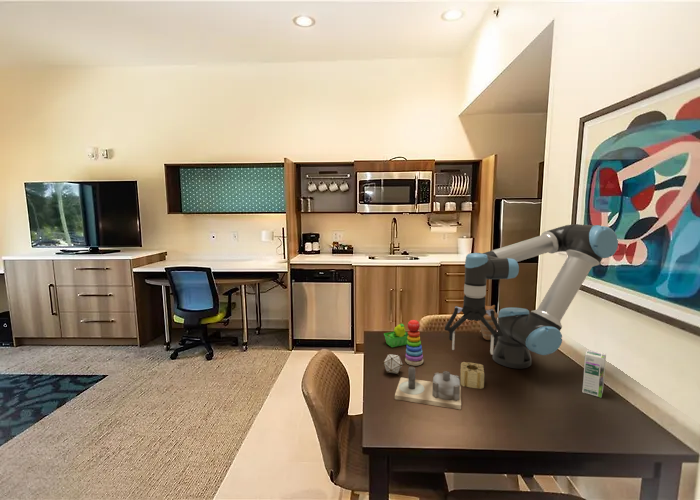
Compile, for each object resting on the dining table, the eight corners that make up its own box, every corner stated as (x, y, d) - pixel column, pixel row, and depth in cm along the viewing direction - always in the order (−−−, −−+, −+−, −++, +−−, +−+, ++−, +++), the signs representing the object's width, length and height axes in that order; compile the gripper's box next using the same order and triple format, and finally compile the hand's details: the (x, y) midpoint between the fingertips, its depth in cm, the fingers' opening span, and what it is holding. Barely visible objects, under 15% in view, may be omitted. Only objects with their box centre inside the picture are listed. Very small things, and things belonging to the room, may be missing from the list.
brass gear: (482, 378, 133) (483, 364, 132) (484, 389, 125) (484, 374, 124) (460, 375, 135) (460, 361, 134) (460, 386, 128) (460, 370, 127)
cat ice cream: (496, 338, 173) (498, 303, 171) (497, 343, 166) (499, 307, 163) (478, 335, 176) (479, 301, 174) (478, 341, 169) (479, 306, 167)
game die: (396, 380, 140) (410, 360, 140) (392, 382, 132) (407, 361, 132) (379, 365, 143) (393, 346, 143) (374, 367, 135) (389, 346, 136)
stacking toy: (422, 358, 151) (423, 317, 149) (424, 366, 143) (425, 323, 141) (404, 357, 152) (404, 317, 149) (405, 366, 144) (405, 323, 142)
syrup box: (581, 392, 122) (584, 353, 120) (584, 386, 127) (587, 348, 125) (601, 398, 119) (604, 358, 117) (603, 391, 123) (606, 352, 121)
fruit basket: (402, 339, 173) (402, 317, 171) (412, 345, 165) (413, 323, 163) (383, 343, 168) (383, 321, 167) (392, 350, 160) (392, 326, 159)
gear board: (460, 389, 125) (461, 366, 124) (460, 409, 113) (461, 384, 112) (400, 381, 132) (400, 358, 131) (394, 399, 120) (394, 374, 118)
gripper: (510, 295, 126) (506, 350, 128) (440, 290, 133) (438, 343, 136) (513, 301, 119) (509, 359, 121) (439, 295, 126) (437, 350, 129)
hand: (472, 350), depth 128 cm, fingers open, 13 cm apart
